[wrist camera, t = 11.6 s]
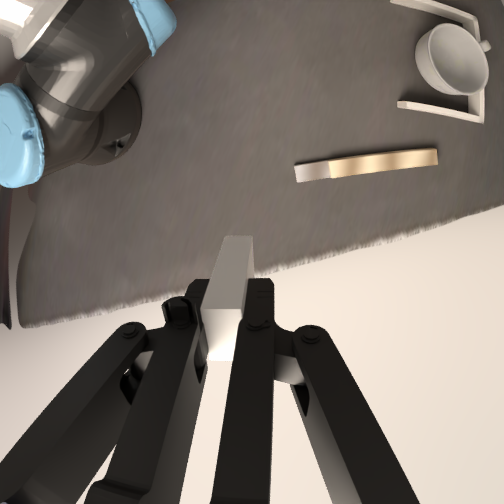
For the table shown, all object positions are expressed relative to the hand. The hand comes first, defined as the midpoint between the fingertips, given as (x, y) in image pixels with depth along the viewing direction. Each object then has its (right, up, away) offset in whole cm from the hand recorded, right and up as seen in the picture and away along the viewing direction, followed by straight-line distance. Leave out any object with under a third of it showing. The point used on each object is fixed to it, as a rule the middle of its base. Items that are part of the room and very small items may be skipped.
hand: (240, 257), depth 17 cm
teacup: (+31, +30, +16) cm, 46 cm away
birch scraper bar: (+18, +14, +25) cm, 34 cm away
